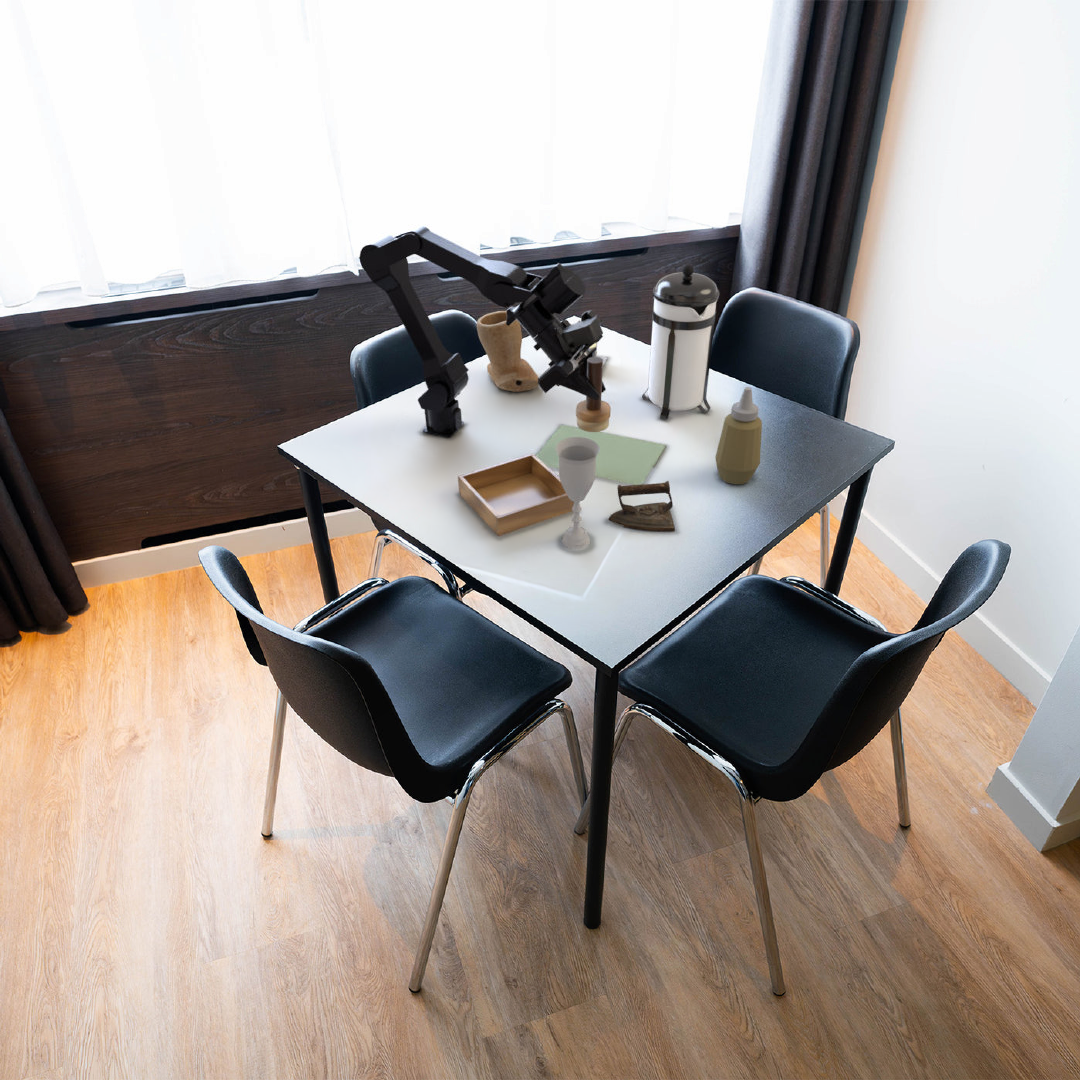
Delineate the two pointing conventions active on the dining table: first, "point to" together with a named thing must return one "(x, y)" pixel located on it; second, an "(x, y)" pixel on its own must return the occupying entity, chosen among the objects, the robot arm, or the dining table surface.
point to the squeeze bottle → (740, 442)
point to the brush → (593, 401)
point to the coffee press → (681, 341)
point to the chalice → (577, 482)
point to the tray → (515, 494)
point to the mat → (609, 454)
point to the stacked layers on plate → (596, 352)
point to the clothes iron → (645, 509)
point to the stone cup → (505, 353)
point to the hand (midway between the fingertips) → (600, 394)
